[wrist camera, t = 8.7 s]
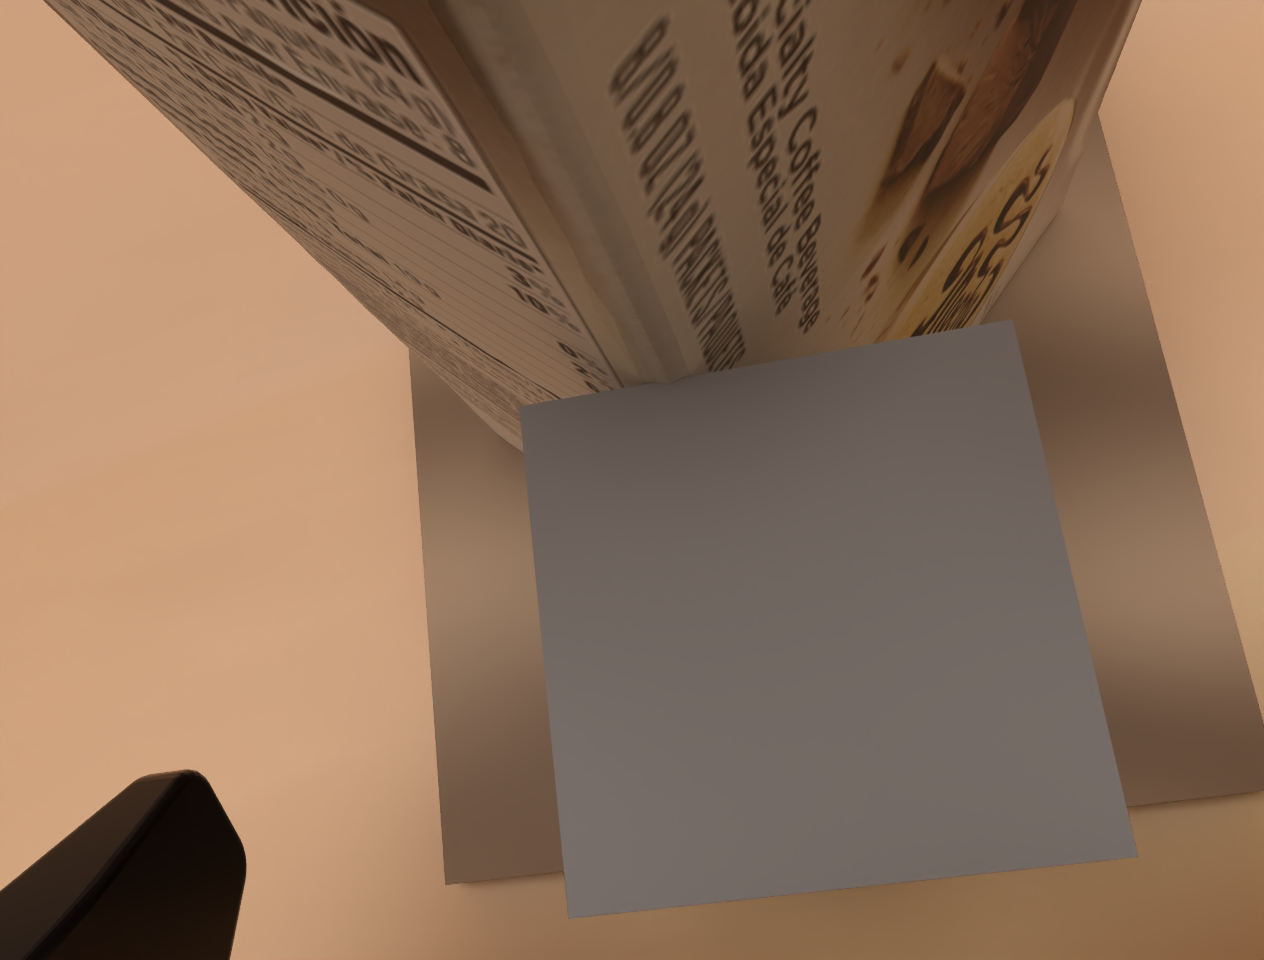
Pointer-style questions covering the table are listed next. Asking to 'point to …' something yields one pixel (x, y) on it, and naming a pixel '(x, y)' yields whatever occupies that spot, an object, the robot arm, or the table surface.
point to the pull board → (1095, 507)
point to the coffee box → (635, 165)
